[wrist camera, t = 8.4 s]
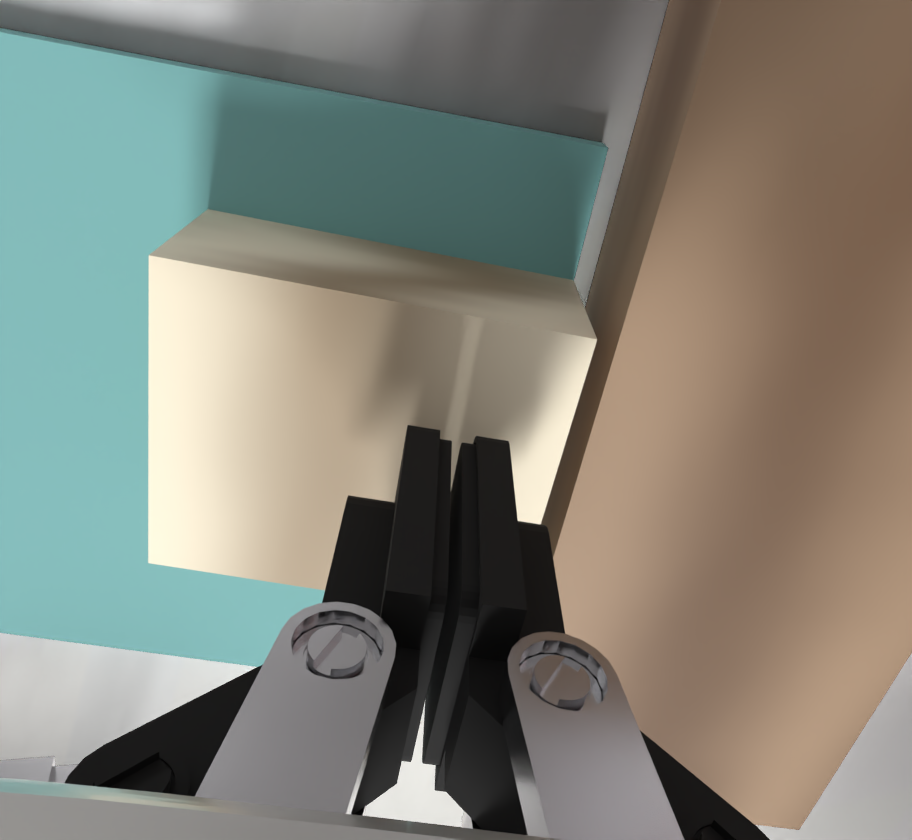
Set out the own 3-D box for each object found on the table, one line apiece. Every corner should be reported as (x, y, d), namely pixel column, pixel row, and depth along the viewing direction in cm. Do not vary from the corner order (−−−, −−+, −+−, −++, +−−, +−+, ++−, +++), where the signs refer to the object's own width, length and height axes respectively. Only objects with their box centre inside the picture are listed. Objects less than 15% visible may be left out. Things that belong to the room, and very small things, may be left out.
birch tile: (572, 280, 15) (597, 339, 12) (504, 527, 17) (511, 619, 15) (207, 208, 14) (148, 254, 11) (197, 476, 17) (148, 563, 14)
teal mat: (602, 143, 14) (607, 147, 13) (466, 676, 21) (466, 694, 20) (-71, 14, 13) (-93, 14, 13) (11, 615, 20) (-1, 632, 19)
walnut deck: (1138, 23, 13) (1309, 26, 10) (757, 729, 21) (799, 830, 19) (689, -74, 12) (749, -96, 10) (480, 692, 21) (483, 791, 18)
